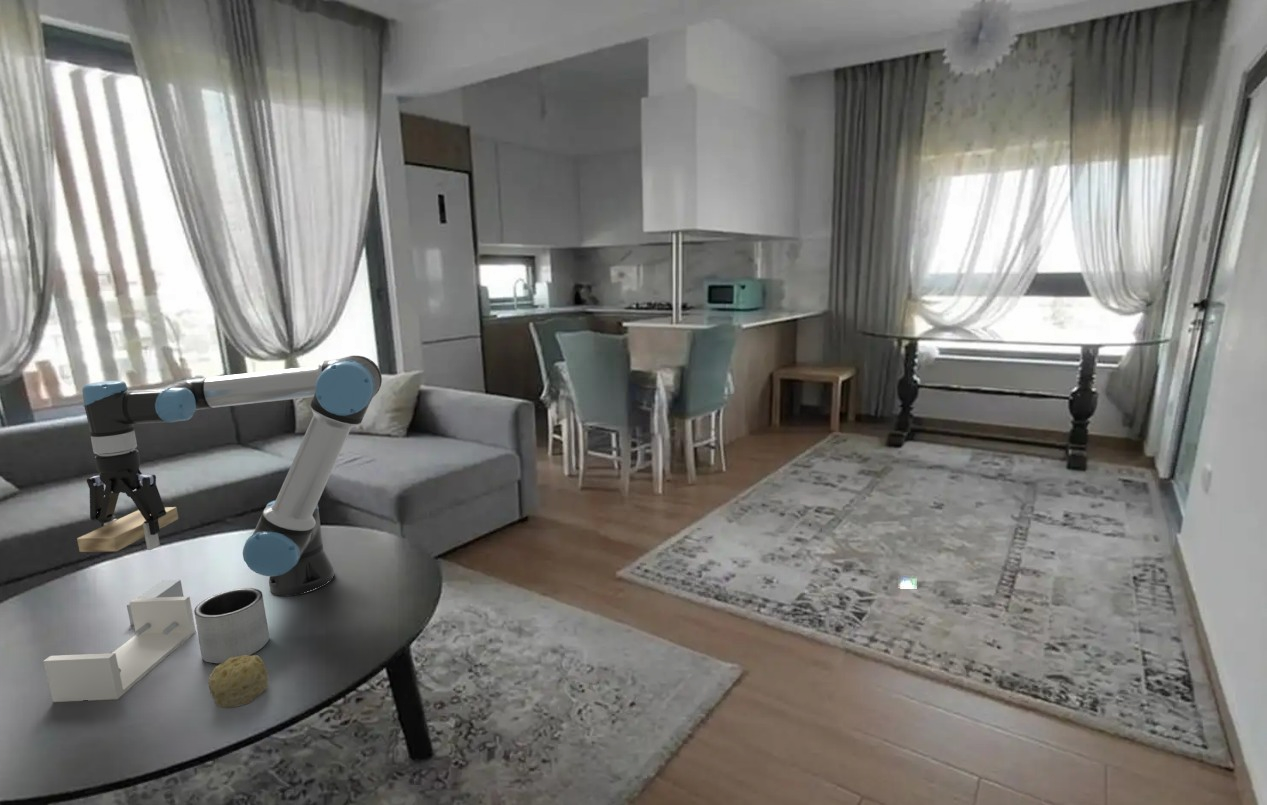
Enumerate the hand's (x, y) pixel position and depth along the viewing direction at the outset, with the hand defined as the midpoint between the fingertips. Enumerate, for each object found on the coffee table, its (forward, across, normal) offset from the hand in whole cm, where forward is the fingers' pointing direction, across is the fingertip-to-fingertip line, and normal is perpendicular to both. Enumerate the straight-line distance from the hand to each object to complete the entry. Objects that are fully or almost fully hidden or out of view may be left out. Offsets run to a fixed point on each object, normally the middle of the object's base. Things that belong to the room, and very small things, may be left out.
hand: (134, 547), depth 142 cm
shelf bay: (+19, -8, +15) cm, 26 cm away
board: (-3, 0, 0) cm, 3 cm away
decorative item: (+19, -38, +26) cm, 50 cm away
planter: (+20, -27, +10) cm, 35 cm away
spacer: (+19, +3, -6) cm, 21 cm away
